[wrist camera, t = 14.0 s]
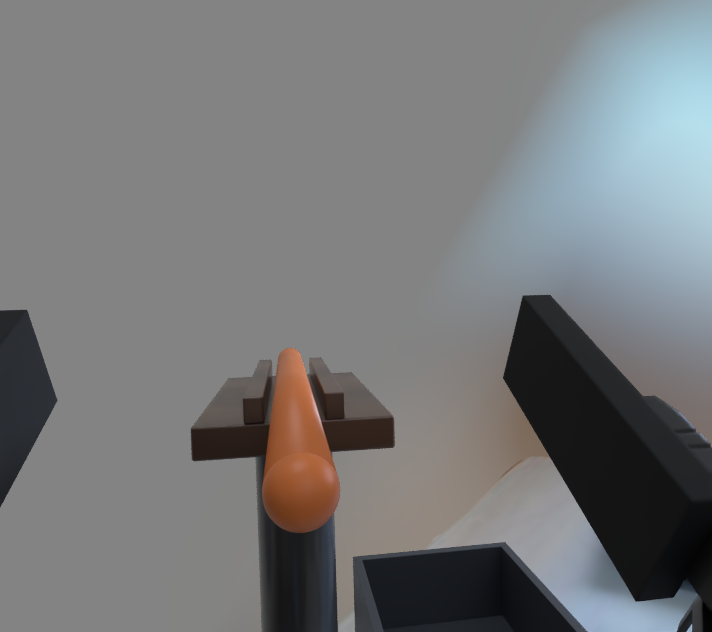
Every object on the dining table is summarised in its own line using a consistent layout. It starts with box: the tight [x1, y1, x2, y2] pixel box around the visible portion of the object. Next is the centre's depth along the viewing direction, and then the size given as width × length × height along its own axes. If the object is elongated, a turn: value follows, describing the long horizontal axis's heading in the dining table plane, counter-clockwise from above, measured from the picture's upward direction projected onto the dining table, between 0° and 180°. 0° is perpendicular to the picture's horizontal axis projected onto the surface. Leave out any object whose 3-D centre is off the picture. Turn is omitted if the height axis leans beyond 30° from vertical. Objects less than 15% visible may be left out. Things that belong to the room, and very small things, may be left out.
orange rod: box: [262, 348, 340, 533], centre depth 17 cm, size 20×1×1 cm, turn 8°
